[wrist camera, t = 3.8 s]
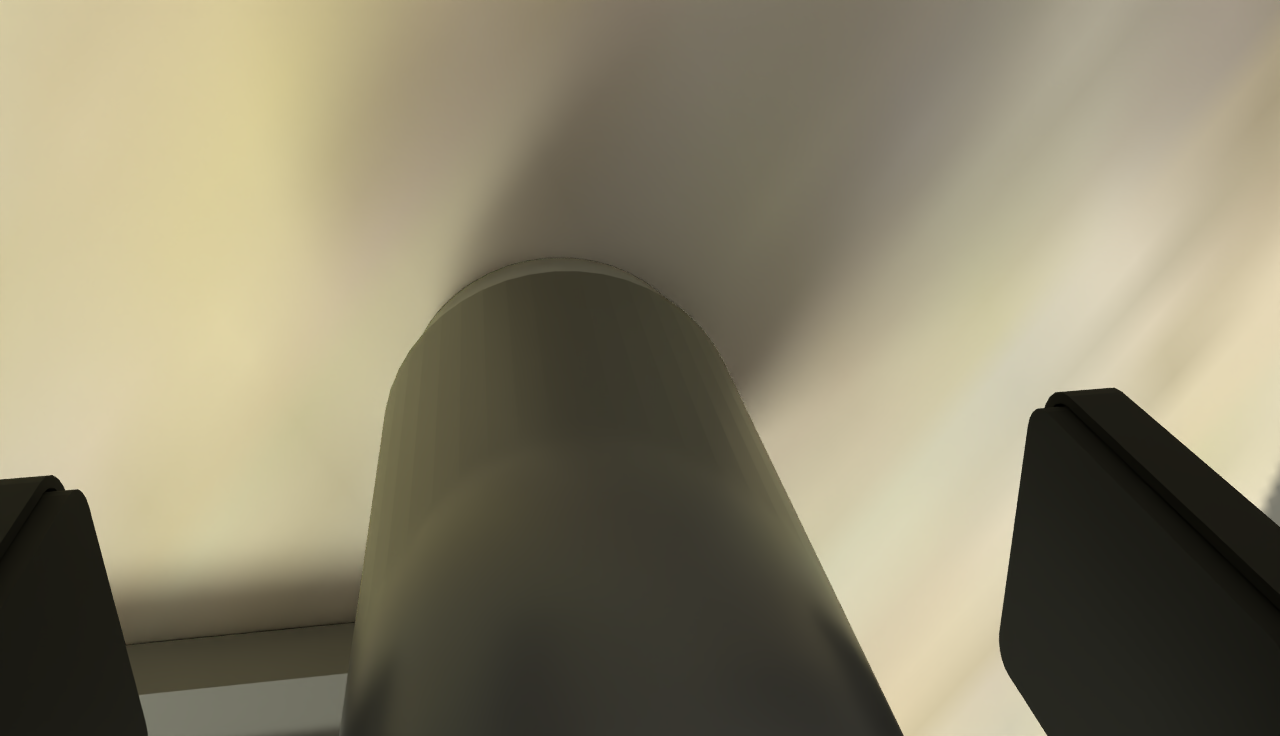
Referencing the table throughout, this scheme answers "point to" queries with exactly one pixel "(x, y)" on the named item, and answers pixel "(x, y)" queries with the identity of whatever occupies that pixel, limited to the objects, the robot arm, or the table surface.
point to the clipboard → (245, 683)
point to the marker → (588, 535)
